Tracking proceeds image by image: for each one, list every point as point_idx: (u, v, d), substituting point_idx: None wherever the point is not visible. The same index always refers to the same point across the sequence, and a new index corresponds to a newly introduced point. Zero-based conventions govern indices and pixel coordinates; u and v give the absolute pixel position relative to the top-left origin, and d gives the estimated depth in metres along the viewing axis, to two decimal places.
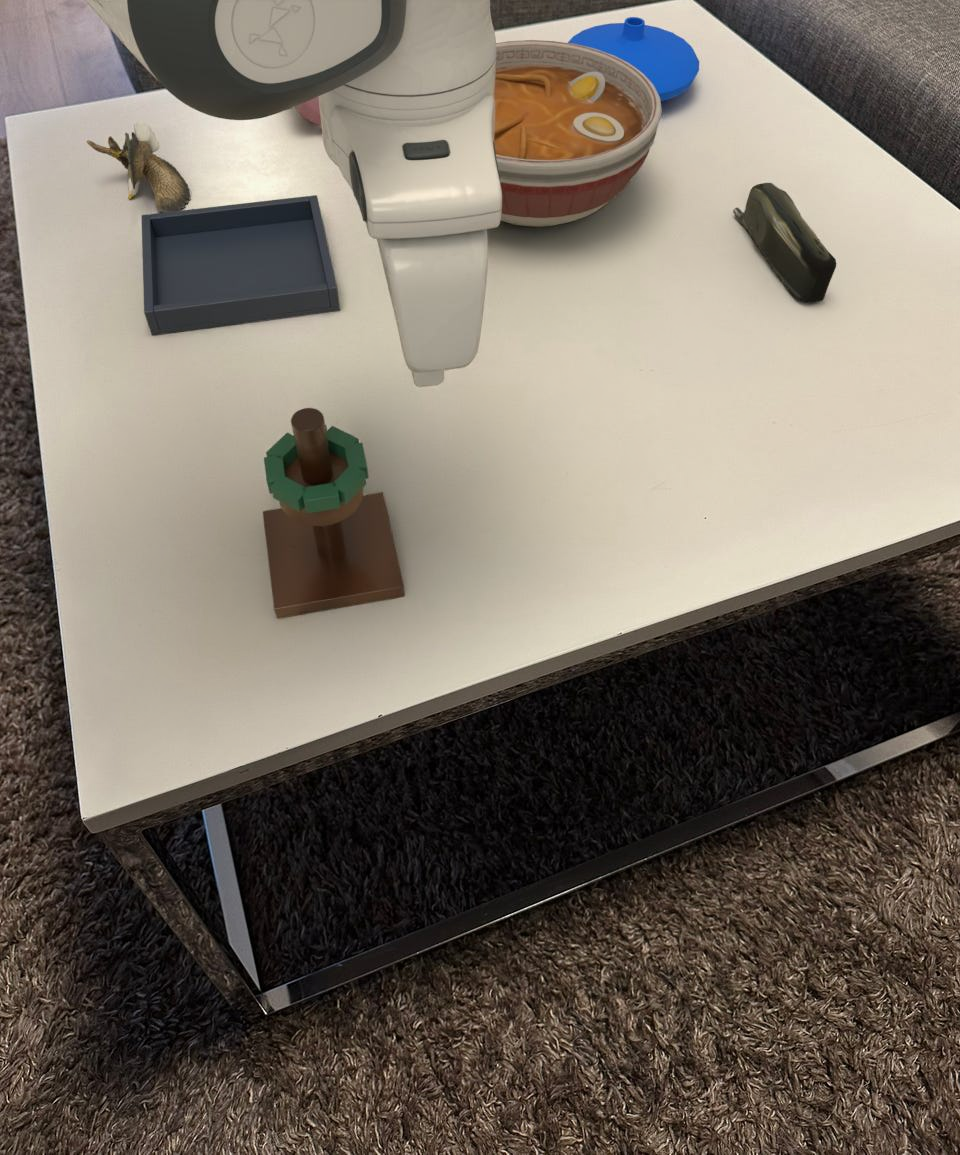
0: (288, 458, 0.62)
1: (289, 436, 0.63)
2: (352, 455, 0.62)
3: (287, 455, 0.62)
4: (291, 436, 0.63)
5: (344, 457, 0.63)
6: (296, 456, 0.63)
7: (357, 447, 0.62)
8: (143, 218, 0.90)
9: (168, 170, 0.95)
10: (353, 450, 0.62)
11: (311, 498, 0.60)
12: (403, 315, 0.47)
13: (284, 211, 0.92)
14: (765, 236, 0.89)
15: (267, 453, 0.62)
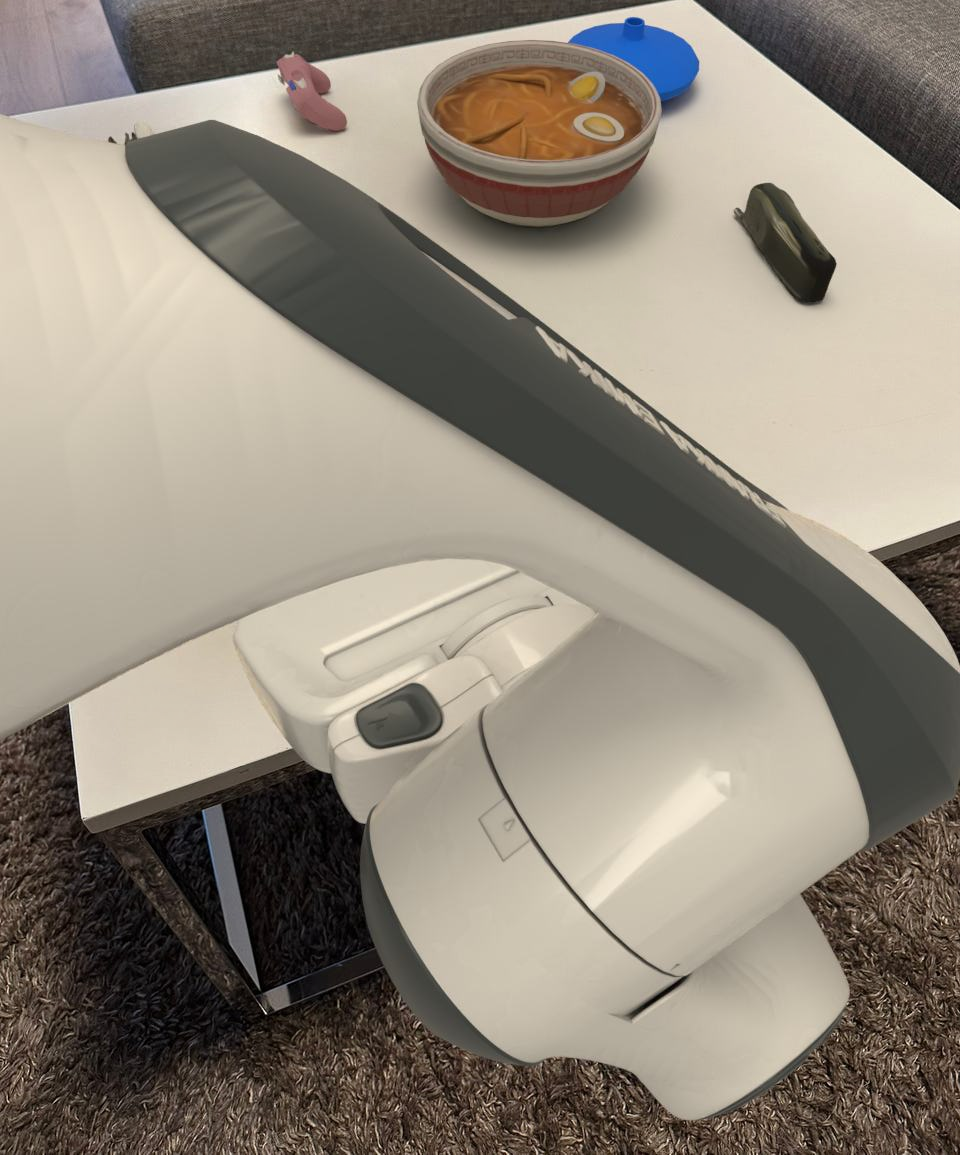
0: None
1: None
2: None
3: None
4: None
5: None
6: None
7: None
8: None
9: None
10: None
11: None
12: (264, 686, 0.39)
13: None
14: (766, 236, 0.89)
15: None
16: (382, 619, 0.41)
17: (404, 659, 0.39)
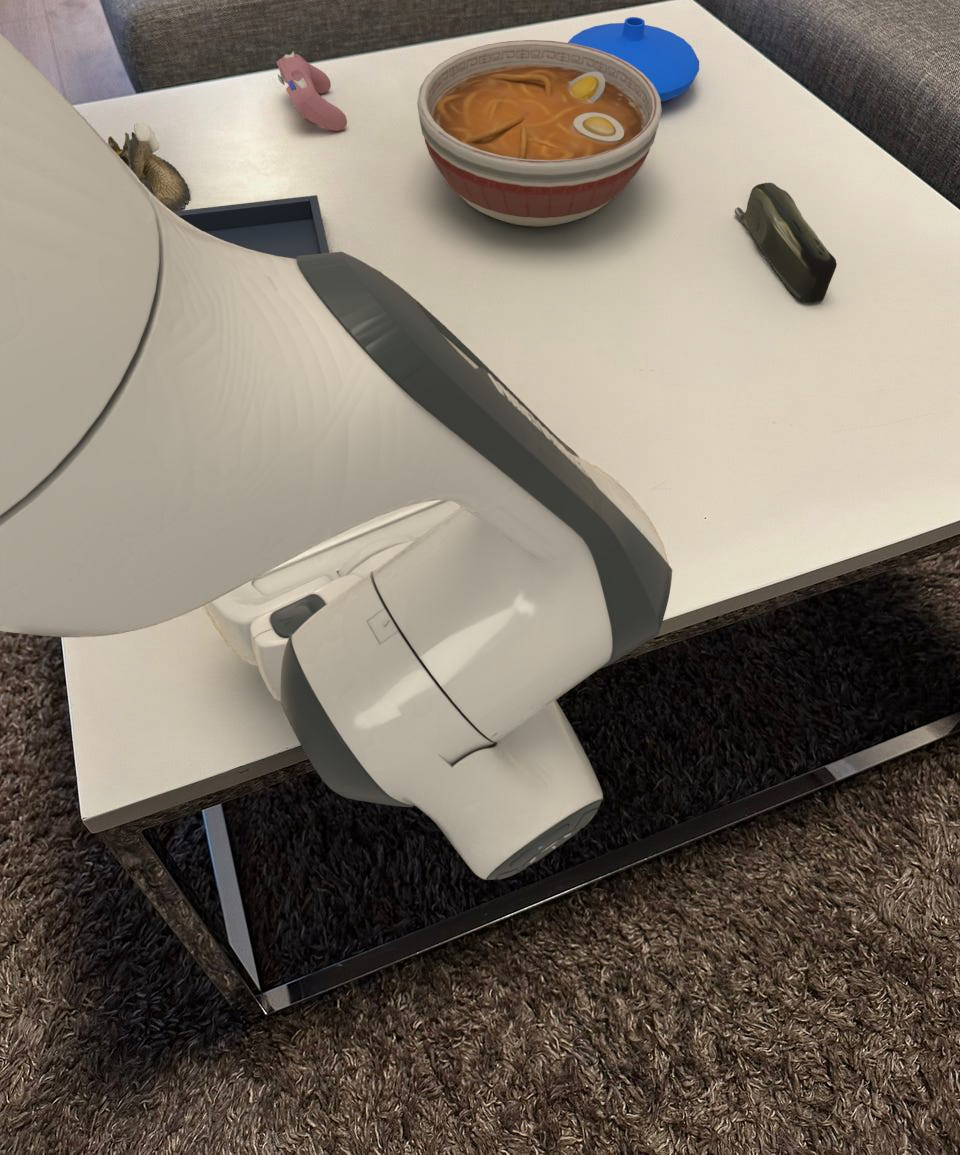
0: None
1: None
2: None
3: None
4: None
5: None
6: None
7: None
8: None
9: (168, 170, 0.95)
10: None
11: None
12: None
13: (284, 211, 0.92)
14: (766, 236, 0.89)
15: None
16: None
17: (310, 580, 0.54)
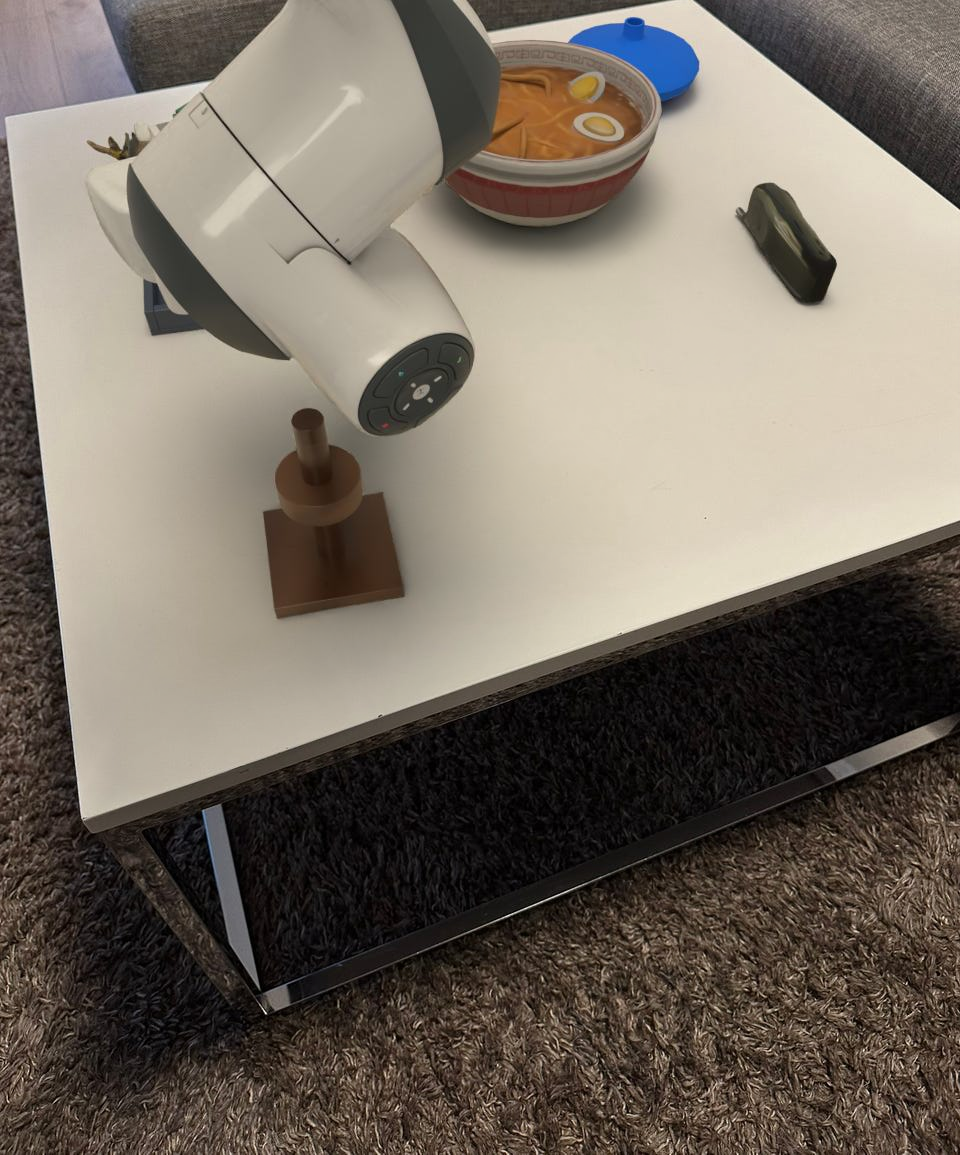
0: None
1: None
2: None
3: None
4: None
5: None
6: None
7: None
8: None
9: None
10: None
11: None
12: (102, 200, 0.54)
13: None
14: (767, 236, 0.89)
15: (176, 111, 0.63)
16: None
17: None
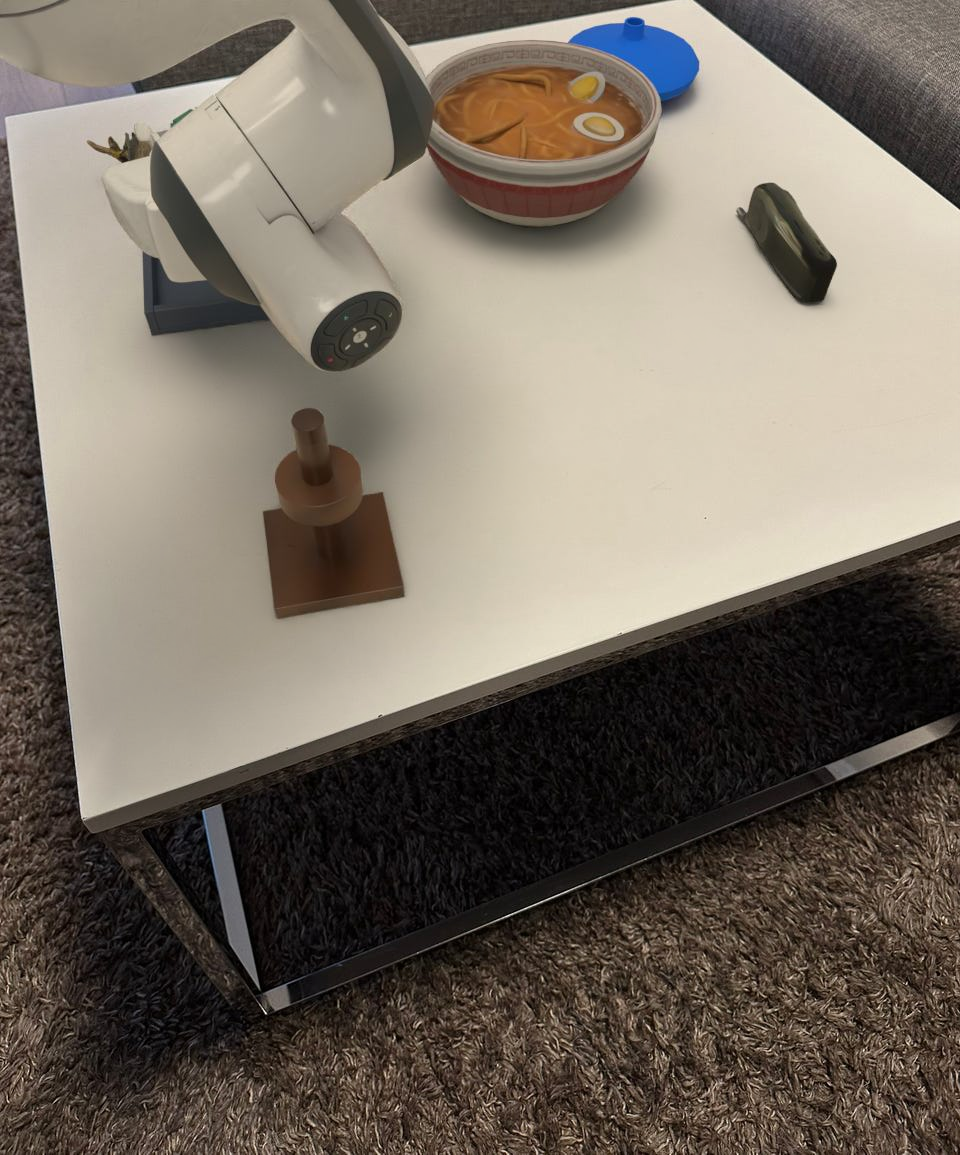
0: None
1: None
2: None
3: None
4: None
5: None
6: None
7: None
8: None
9: None
10: None
11: None
12: (115, 192, 0.70)
13: None
14: (767, 236, 0.89)
15: (173, 121, 0.78)
16: None
17: None
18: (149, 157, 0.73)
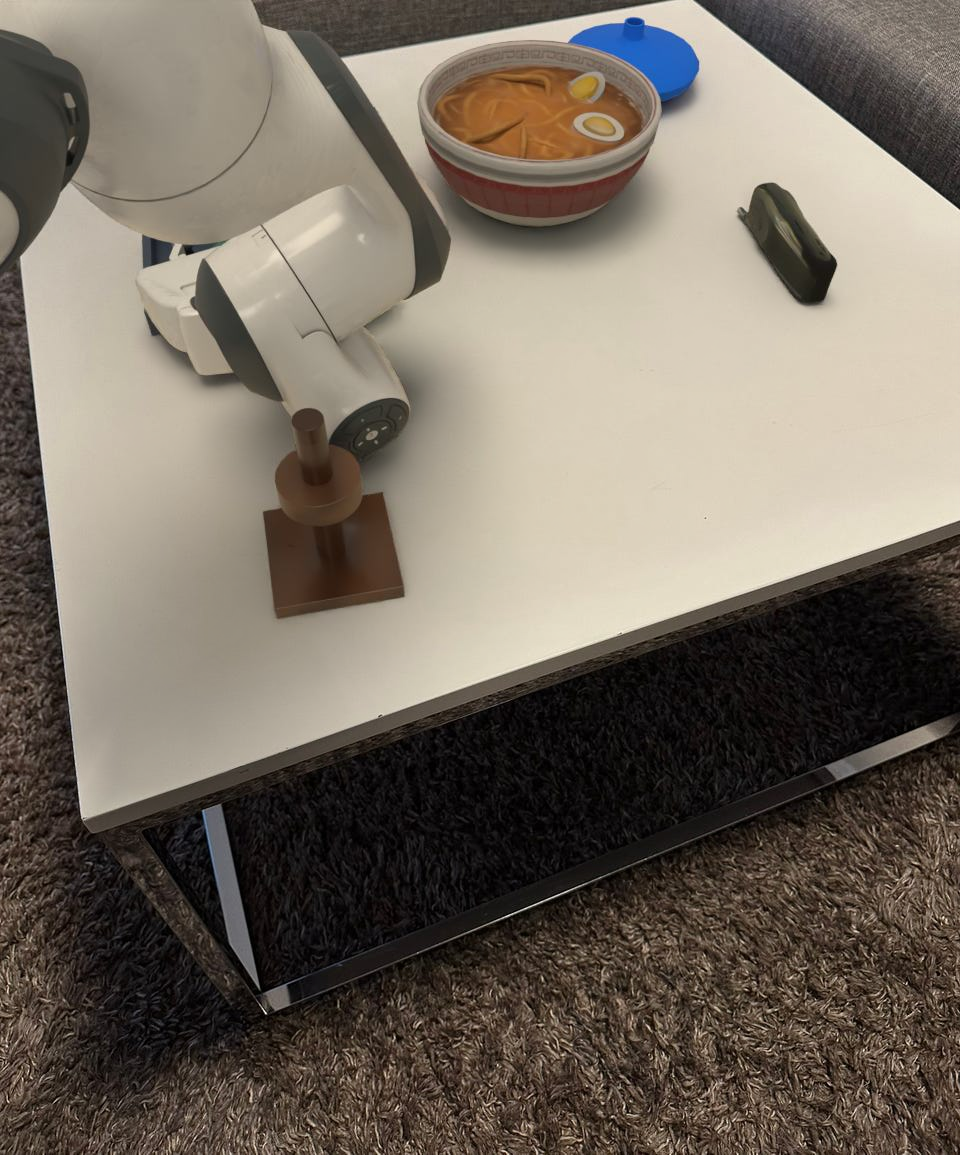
0: None
1: (222, 243, 0.89)
2: None
3: None
4: (223, 243, 0.89)
5: None
6: None
7: None
8: None
9: None
10: None
11: None
12: (149, 296, 0.77)
13: None
14: (768, 236, 0.89)
15: None
16: None
17: None
18: (178, 260, 0.80)
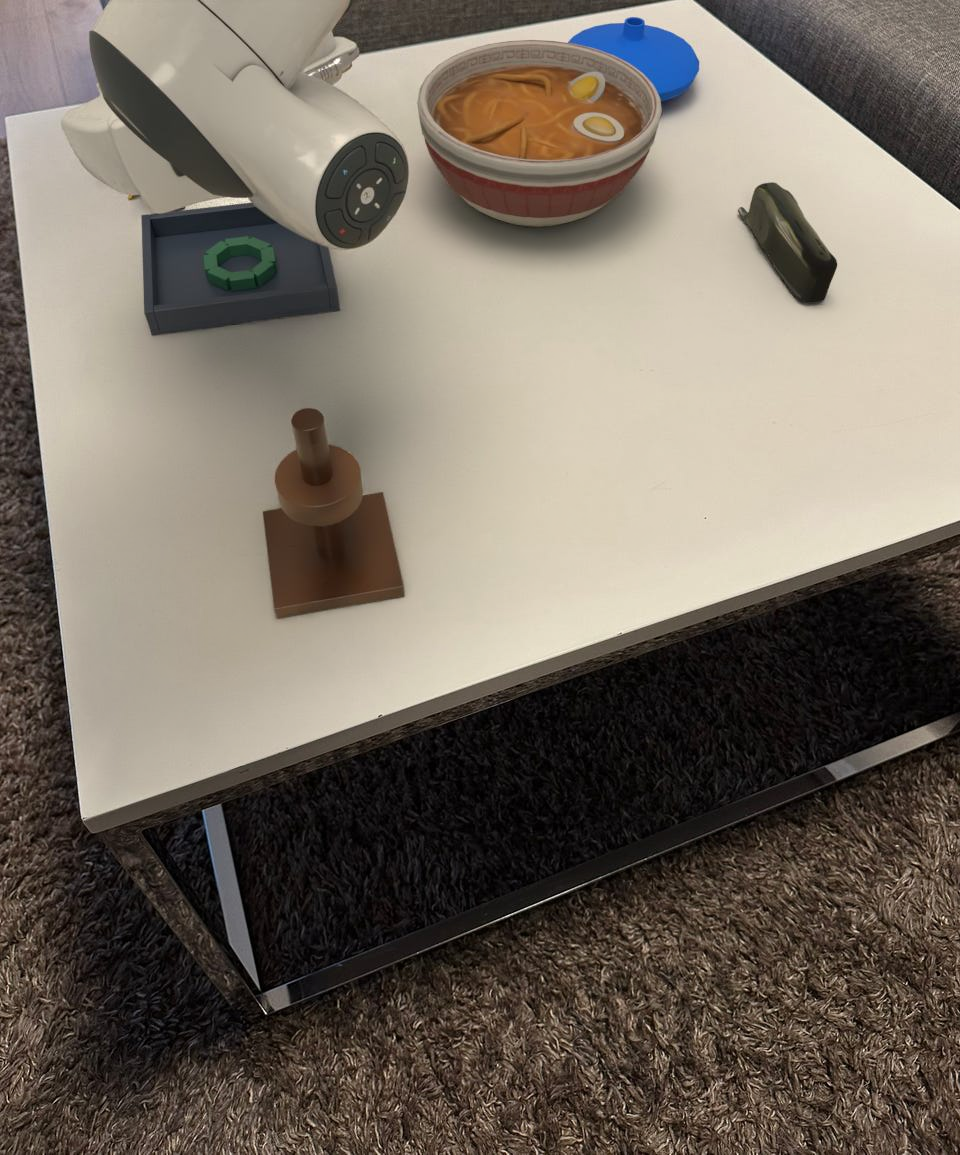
0: (221, 257, 0.89)
1: (222, 243, 0.89)
2: (265, 254, 0.88)
3: (220, 254, 0.88)
4: (223, 243, 0.89)
5: (261, 258, 0.89)
6: (227, 257, 0.89)
7: (269, 249, 0.89)
8: (143, 218, 0.90)
9: None
10: (266, 251, 0.88)
11: (235, 279, 0.86)
12: (76, 130, 0.64)
13: None
14: (768, 236, 0.89)
15: (206, 253, 0.88)
16: None
17: None
18: None
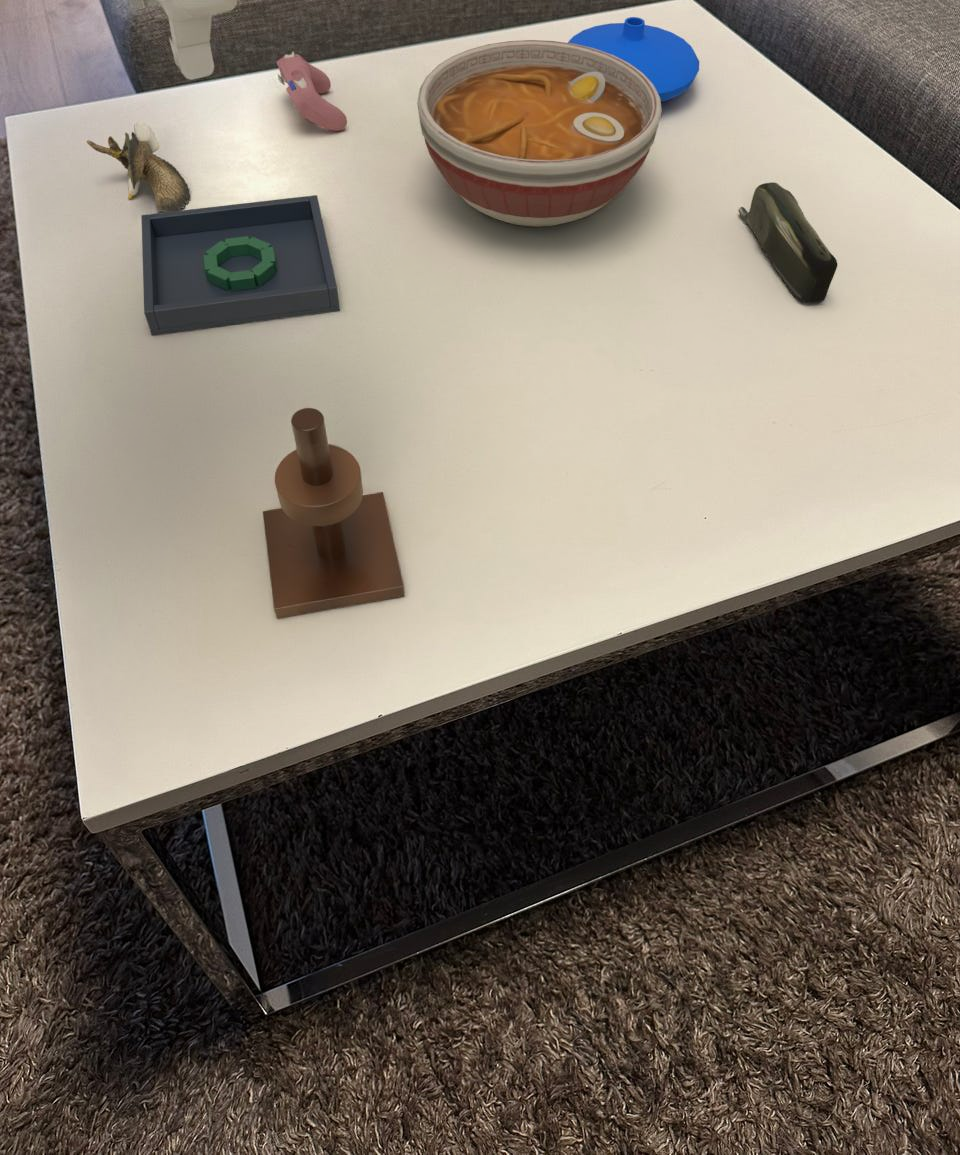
0: (221, 257, 0.89)
1: (222, 243, 0.89)
2: (265, 254, 0.88)
3: (220, 254, 0.88)
4: (223, 243, 0.89)
5: (261, 258, 0.89)
6: (227, 257, 0.89)
7: (269, 249, 0.89)
8: (143, 218, 0.90)
9: (168, 170, 0.95)
10: (266, 251, 0.88)
11: (235, 279, 0.86)
12: None
13: (284, 211, 0.92)
14: (768, 236, 0.90)
15: (206, 253, 0.88)
16: None
17: None
18: None
